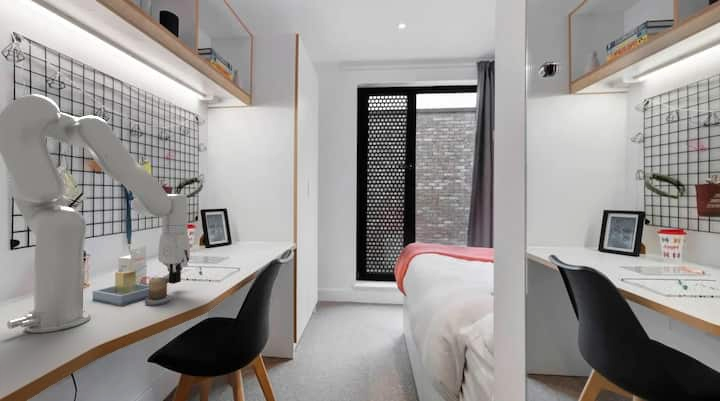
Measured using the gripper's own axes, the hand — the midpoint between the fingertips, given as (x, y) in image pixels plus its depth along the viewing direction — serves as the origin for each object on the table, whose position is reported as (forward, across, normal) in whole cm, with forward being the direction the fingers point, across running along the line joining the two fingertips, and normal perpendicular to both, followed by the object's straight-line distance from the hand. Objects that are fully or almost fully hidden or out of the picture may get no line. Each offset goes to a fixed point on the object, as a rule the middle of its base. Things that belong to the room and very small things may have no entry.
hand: (174, 282), depth 108 cm
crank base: (+5, -7, -3) cm, 9 cm away
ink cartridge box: (+5, -25, +2) cm, 26 cm away
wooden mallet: (+3, -3, -1) cm, 4 cm away
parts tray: (+5, -14, -8) cm, 16 cm away
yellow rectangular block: (+4, -14, -8) cm, 16 cm away
